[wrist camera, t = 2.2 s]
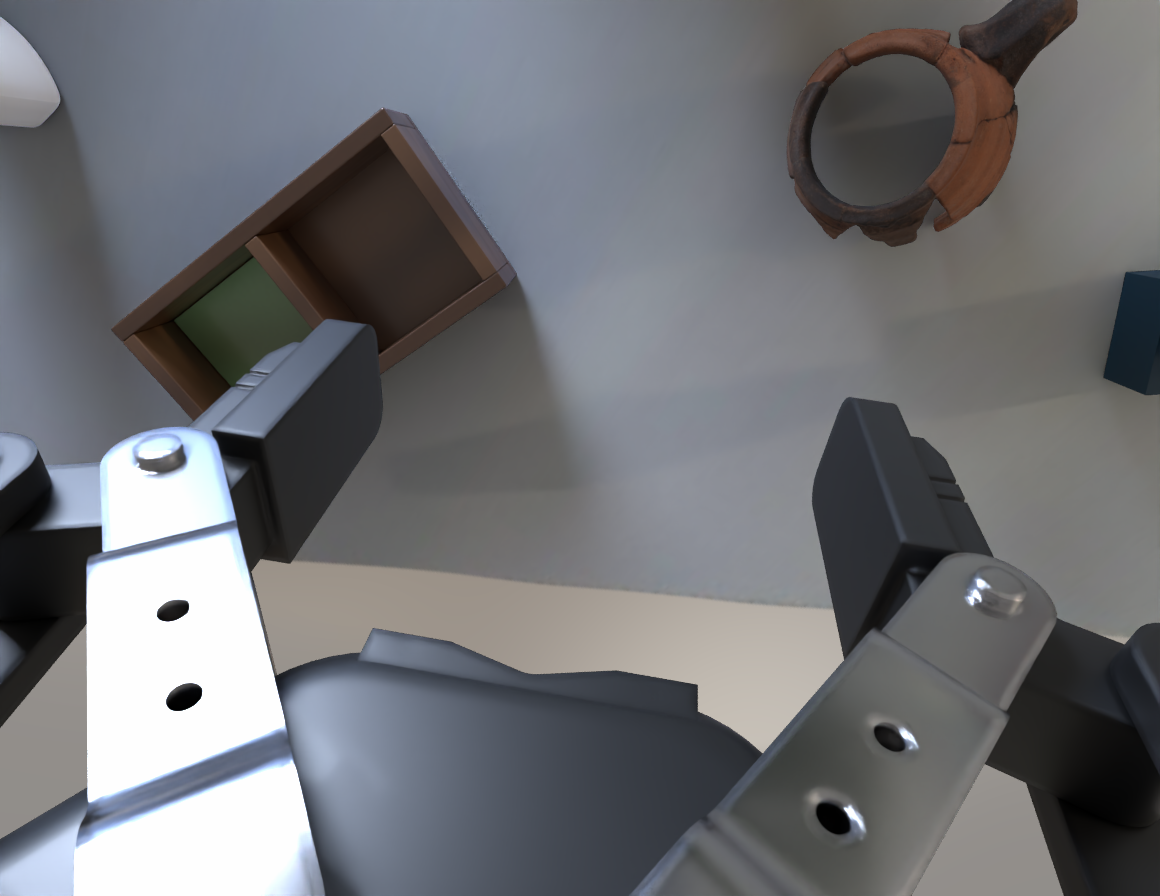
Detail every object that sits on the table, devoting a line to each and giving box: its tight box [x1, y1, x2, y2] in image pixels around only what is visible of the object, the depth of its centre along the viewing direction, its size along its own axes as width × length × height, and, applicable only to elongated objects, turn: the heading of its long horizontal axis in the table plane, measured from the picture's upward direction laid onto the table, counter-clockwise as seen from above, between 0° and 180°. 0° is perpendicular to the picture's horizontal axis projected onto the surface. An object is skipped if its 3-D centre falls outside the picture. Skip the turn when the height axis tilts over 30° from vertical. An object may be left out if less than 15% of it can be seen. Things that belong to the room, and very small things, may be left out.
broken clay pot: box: [787, 0, 1078, 247], centre depth 31 cm, size 12×10×8 cm
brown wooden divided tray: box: [111, 108, 517, 421], centre depth 35 cm, size 9×17×4 cm, turn 124°
